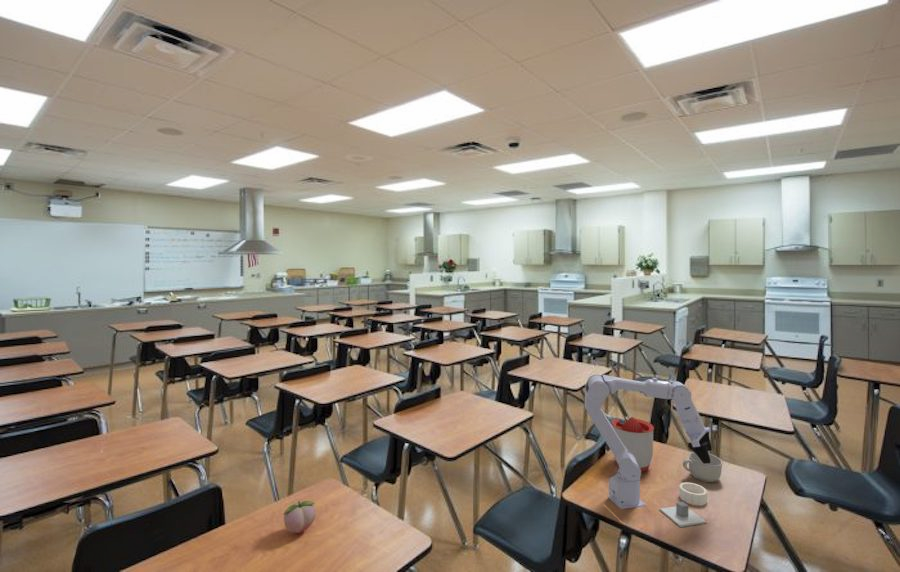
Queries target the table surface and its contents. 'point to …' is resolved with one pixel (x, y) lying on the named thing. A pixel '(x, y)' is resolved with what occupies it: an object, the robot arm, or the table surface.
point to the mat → (684, 526)
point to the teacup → (704, 467)
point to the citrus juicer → (636, 439)
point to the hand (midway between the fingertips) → (707, 456)
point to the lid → (682, 515)
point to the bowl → (693, 493)
